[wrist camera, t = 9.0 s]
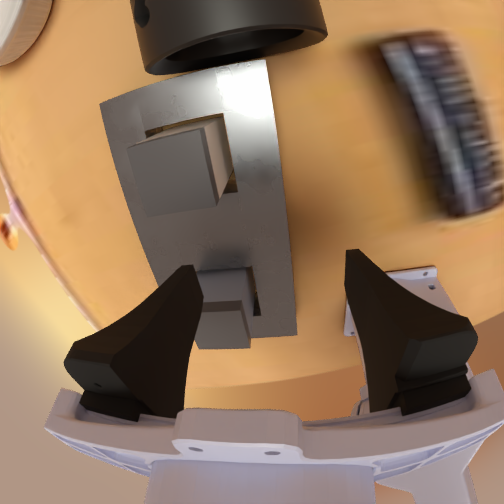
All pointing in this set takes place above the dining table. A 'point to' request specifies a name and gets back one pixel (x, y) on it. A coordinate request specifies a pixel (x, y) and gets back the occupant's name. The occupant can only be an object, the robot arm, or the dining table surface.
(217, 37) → the muzzle brake
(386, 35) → the dining table surface
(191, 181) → the plug
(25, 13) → the ramekin
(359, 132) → the dining table surface
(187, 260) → the block
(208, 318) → the twin plug
